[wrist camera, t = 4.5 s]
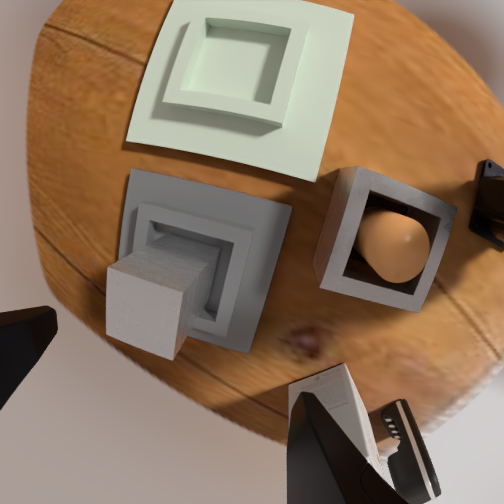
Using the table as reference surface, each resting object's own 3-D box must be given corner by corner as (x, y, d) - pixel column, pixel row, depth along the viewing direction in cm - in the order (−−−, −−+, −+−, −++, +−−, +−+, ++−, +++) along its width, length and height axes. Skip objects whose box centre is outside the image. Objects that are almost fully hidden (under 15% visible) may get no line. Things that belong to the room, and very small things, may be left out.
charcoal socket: (291, 205, 20) (293, 209, 17) (249, 347, 23) (246, 365, 20) (137, 168, 20) (120, 168, 18) (120, 305, 23) (106, 317, 21)
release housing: (422, 199, 18) (457, 207, 13) (393, 284, 20) (418, 313, 15) (339, 168, 18) (357, 165, 14) (311, 261, 20) (319, 287, 16)
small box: (287, 382, 24) (284, 479, 13) (345, 360, 22) (370, 456, 12) (317, 429, 25) (322, 512, 15) (367, 411, 24) (387, 493, 14)
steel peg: (220, 247, 20) (183, 292, 12) (209, 297, 21) (172, 360, 13) (168, 233, 20) (107, 266, 12) (160, 282, 21) (106, 334, 13)
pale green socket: (351, 20, 15) (358, 5, 13) (313, 182, 19) (317, 183, 17) (182, -5, 16) (173, -19, 13) (132, 142, 19) (115, 139, 17)
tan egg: (403, 215, 18) (437, 229, 13) (387, 263, 19) (415, 289, 14) (358, 199, 18) (384, 208, 13) (343, 249, 19) (362, 274, 14)
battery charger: (370, 411, 24) (393, 501, 13) (403, 394, 23) (438, 480, 12) (387, 439, 25) (407, 515, 14) (416, 425, 24) (443, 498, 13)
